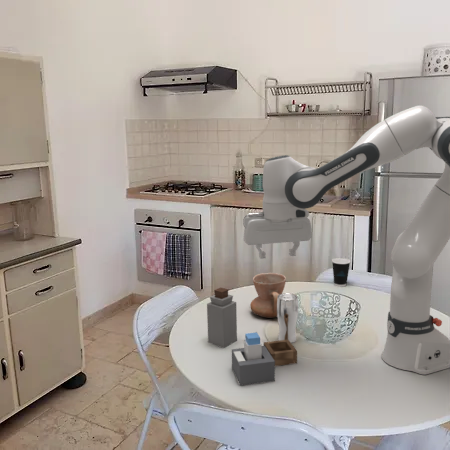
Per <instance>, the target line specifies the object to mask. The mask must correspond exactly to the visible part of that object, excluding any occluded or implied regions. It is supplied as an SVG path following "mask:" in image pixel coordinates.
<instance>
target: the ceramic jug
mask: <svg viewBox="0 0 450 450" xmlns="http://www.w3.org/2000/svg"><path fill="white" fill-rule="evenodd" d="M252 281H253V286H254V289H255V291H256V294H257V297H255V298H254V299H252V300H251V302H250V304H249V305H250V310H251V312H252V313H253V314H255V315H256V316H259V317H262V318H269V319H270V318H271V319H272V318H277V296H278V295H279V294H283V293H284V290H285V286H286V281H287V277H286V276H285V275H284V274H281V273H276V272H267V273H265V272H263V273H258V274H256V275H254V276H253V278H252Z"/></svg>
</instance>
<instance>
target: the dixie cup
mask: <svg viewBox="0 0 450 450" xmlns="http://www.w3.org/2000/svg"><path fill="white" fill-rule="evenodd" d="M331 263H332V273H333V283H334V286H335V287H337V288H344V287H346V286H347V284H348V277H349V273H350V272H349V271H350V263H352V262H351V260H350V259H348V258H342V257H341V258H339V257H335V258H332V259H331Z"/></svg>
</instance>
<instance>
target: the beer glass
mask: <svg viewBox="0 0 450 450" xmlns="http://www.w3.org/2000/svg"><path fill="white" fill-rule="evenodd" d="M298 298H299V297H298V295H296V294H294V293H290V292H285V293H284V292H282V294H279V295H278V296H277V317H276V318H277V322H278V335H277V341H279V340H289V341H290V342H291V344H293V343H295V342H297V334H296V327H297V321H298V315H299V299H298Z"/></svg>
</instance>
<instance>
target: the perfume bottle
mask: <svg viewBox="0 0 450 450" xmlns="http://www.w3.org/2000/svg"><path fill="white" fill-rule="evenodd" d="M213 290H214V291H213V293H214V295H211V296H209V299H210V302H208V303H206V311H207V312H206V314H207V315H206V316H207V321H206V322H207V343H208V344H211V345H214V346H217V347H219V348H223V349H226V348H227V347H229V346H230V345H232V344H233V343H235V342H237V341H238V333H237V332H238V329H237V328H238V324H237V323H238V322H237V321H238V320H237V318H238V317H237V302H236V301H233V299H234V298H233V297H234V295H233V294H229V288H224V287H218V288H216V289H213Z"/></svg>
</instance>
